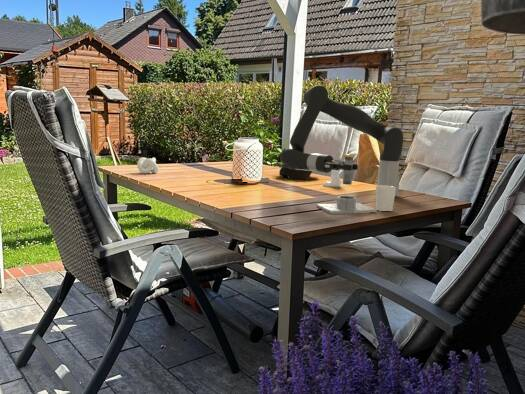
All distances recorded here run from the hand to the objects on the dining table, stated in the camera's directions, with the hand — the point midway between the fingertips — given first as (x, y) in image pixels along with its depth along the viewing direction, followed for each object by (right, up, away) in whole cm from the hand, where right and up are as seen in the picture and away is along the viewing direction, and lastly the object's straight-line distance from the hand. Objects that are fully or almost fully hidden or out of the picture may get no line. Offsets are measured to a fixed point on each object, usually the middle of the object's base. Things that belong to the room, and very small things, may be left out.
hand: (354, 167), depth 197 cm
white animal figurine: (-104, +2, +89) cm, 137 cm away
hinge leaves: (-3, -17, +5) cm, 18 cm away
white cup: (+14, -18, +7) cm, 23 cm away
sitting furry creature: (+1, -6, +65) cm, 65 cm away
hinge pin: (-2, -6, +3) cm, 8 cm away
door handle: (-44, -4, +72) cm, 84 cm away
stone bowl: (-17, -1, +93) cm, 95 cm away
